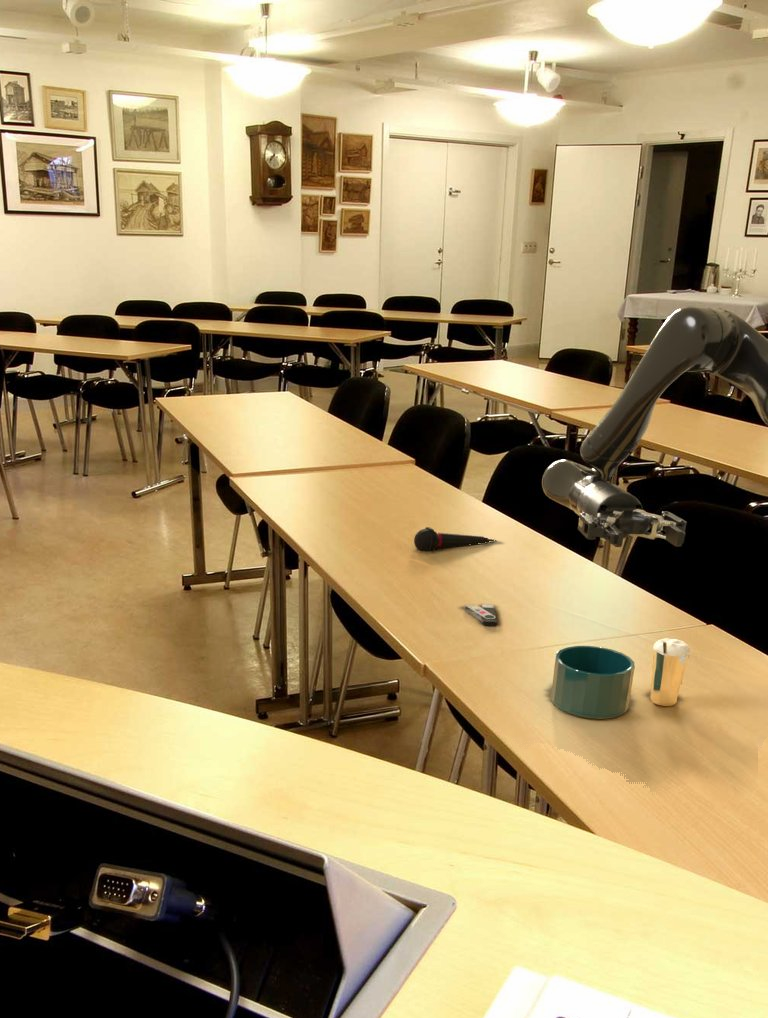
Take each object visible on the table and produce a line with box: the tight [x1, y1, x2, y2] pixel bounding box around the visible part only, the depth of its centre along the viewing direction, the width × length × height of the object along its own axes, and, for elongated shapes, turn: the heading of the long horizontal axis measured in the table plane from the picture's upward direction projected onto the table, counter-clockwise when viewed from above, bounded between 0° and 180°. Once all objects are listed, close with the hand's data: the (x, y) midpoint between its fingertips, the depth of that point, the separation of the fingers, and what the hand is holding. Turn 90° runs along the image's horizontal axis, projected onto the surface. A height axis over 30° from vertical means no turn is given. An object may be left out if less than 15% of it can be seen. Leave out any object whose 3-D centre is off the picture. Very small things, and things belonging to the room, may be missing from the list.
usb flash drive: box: [463, 603, 498, 627], centre depth 159 cm, size 9×5×1 cm, turn 168°
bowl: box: [550, 645, 636, 720], centre depth 126 cm, size 10×10×6 cm
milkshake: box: [649, 637, 691, 707], centre depth 125 cm, size 4×5×10 cm
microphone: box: [413, 526, 495, 553], centre depth 197 cm, size 6×6×20 cm
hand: (650, 540), depth 129 cm, fingers open, 8 cm apart
